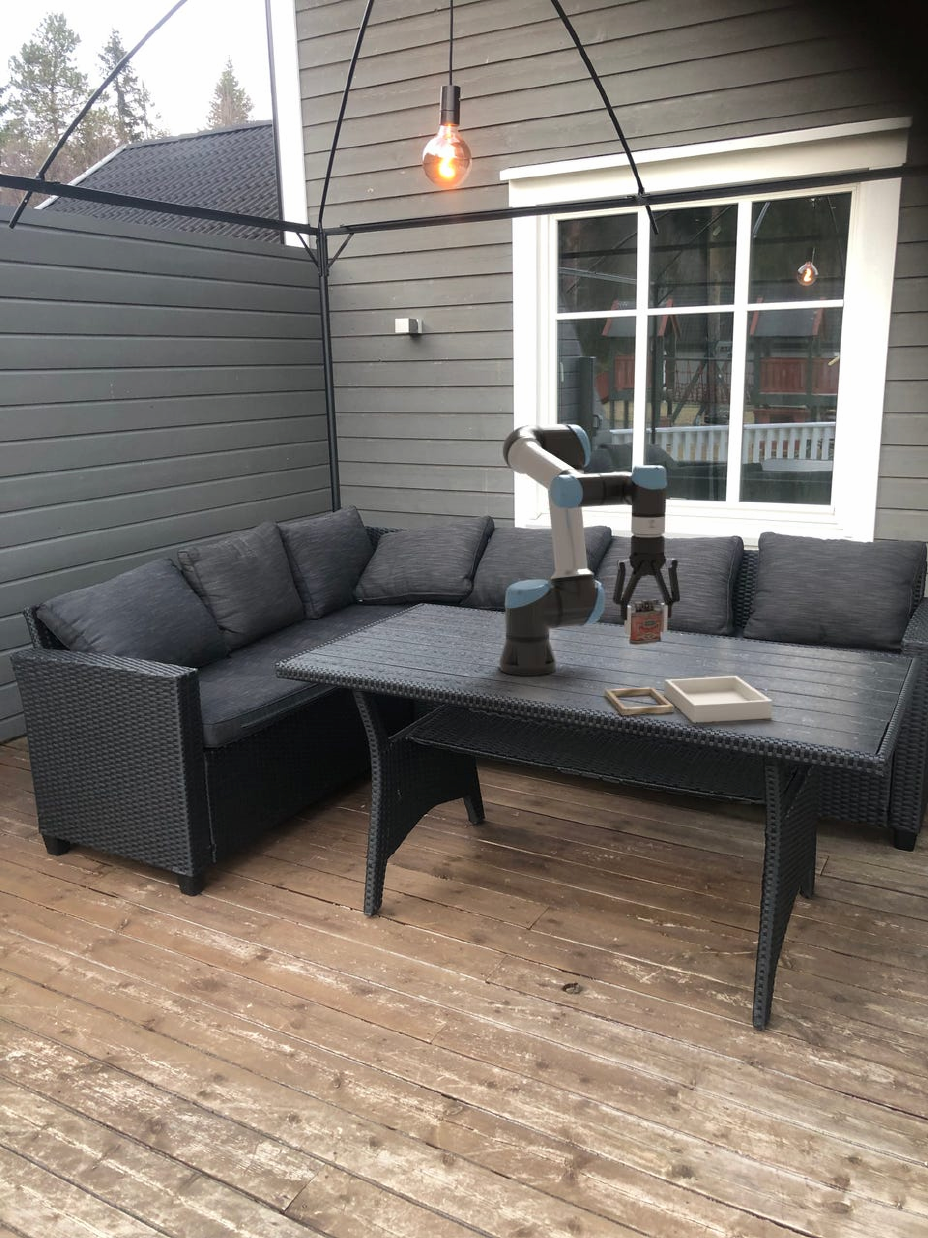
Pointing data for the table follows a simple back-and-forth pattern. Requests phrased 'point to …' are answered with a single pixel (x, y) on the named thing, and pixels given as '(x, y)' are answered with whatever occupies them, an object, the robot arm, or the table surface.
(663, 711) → the holder
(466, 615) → the table surface
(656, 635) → the lighter
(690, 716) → the tray
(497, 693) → the table surface
